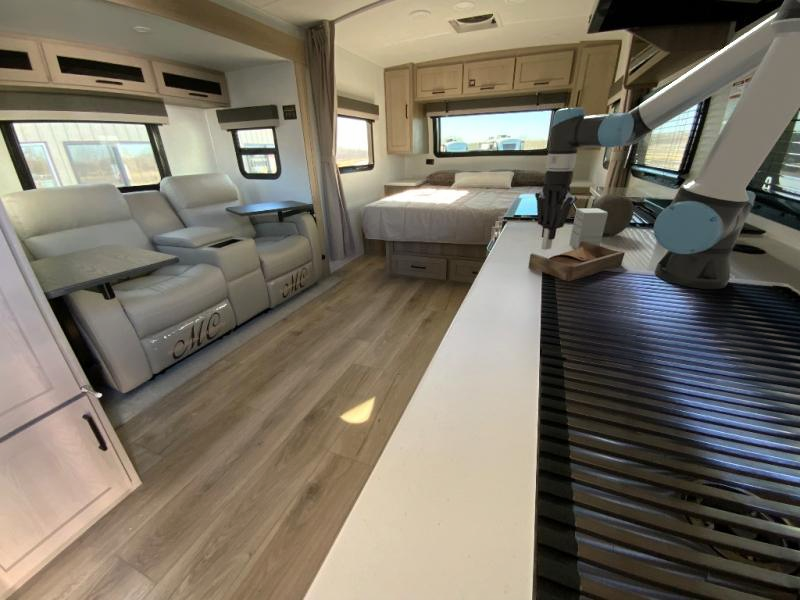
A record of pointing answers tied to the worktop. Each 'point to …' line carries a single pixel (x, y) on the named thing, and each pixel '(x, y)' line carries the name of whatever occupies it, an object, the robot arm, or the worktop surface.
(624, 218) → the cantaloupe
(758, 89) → the robot arm
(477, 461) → the worktop surface
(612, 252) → the box
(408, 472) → the worktop surface
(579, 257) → the sunglasses case
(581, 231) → the supplement box
